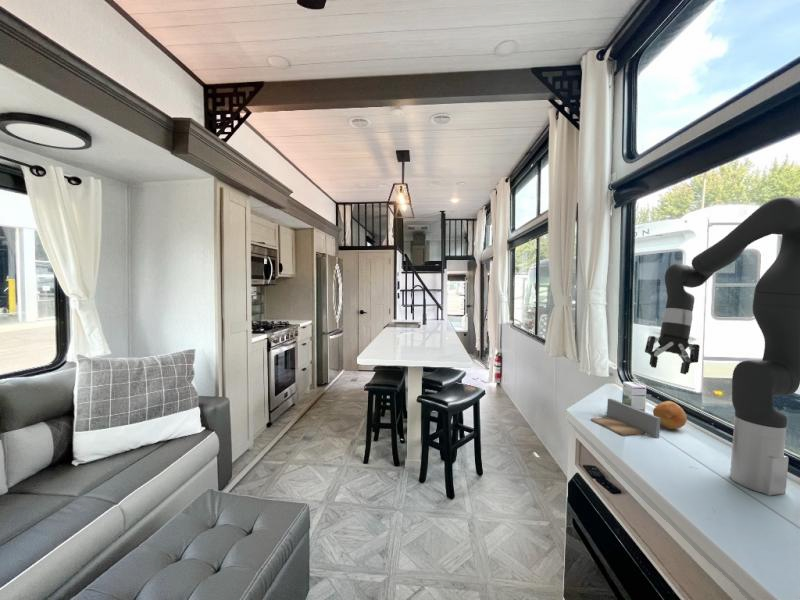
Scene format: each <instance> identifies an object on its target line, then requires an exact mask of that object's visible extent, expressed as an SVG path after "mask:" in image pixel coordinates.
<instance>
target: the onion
mask: <svg viewBox="0 0 800 600" xmlns="http://www.w3.org/2000/svg"><path fill="white" fill-rule="evenodd" d="M652 415H654V416H657V417H659V418H661V419H660V426H662V427H664V428H666V429H668V430H677V429H680V428H682V427H684V426H685V425H686V424H687V421H688V420H687V419H688V418H687V414H686V412H685V411H684V409H683V408H682V407H681V406H680V405H678V404H677V403H676V402H673V401H672V400H665V401H662V402H660V403H658V404H657V405H656V406H655V407H654V408H653V409H652Z"/></svg>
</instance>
